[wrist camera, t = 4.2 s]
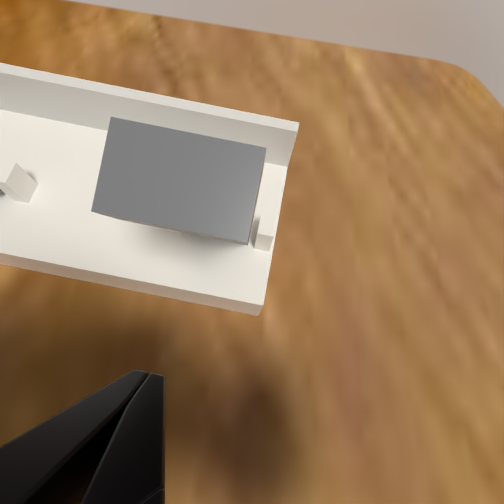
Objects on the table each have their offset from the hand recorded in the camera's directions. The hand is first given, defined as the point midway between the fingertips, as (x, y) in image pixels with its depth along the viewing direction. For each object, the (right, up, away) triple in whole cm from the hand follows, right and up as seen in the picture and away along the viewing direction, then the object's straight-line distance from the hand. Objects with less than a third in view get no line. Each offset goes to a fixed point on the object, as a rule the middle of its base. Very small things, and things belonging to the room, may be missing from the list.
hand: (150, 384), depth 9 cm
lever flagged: (+1, +5, +8) cm, 10 cm away
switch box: (-5, +6, +12) cm, 15 cm away
